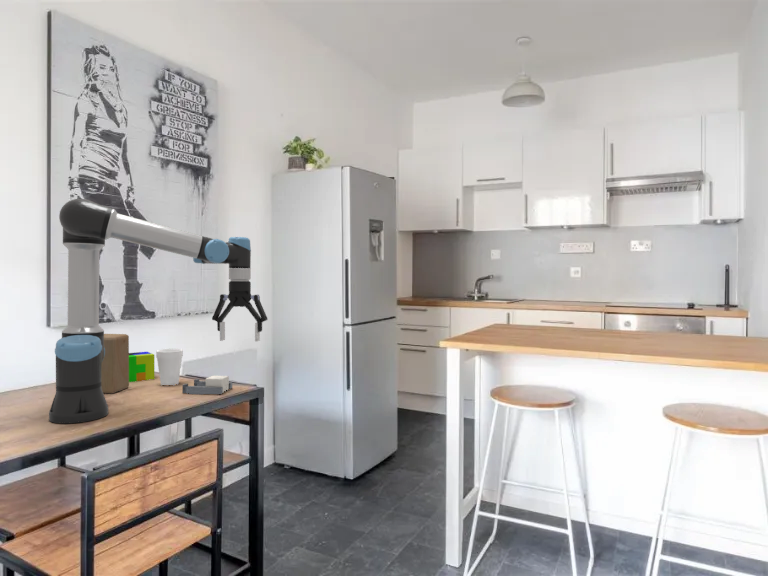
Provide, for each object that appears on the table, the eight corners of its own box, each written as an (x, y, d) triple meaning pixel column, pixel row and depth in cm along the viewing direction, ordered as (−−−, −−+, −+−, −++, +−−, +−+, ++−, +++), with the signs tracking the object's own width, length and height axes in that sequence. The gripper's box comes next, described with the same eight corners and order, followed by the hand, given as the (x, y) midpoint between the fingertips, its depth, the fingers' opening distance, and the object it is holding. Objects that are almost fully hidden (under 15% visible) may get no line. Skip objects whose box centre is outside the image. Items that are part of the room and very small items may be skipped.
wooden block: (130, 387, 192) (129, 333, 191) (113, 394, 182) (113, 337, 181) (104, 387, 193) (104, 333, 192) (86, 393, 183) (86, 336, 182)
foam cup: (159, 387, 192) (159, 352, 192) (153, 383, 200) (153, 349, 199) (185, 384, 198) (185, 350, 197) (179, 380, 205) (179, 347, 205)
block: (221, 393, 184) (221, 379, 184) (205, 392, 185) (205, 378, 184) (228, 389, 190) (228, 376, 190) (212, 389, 191) (212, 375, 190)
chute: (220, 395, 182) (220, 386, 182) (182, 393, 183) (182, 384, 183) (232, 388, 192) (232, 380, 192) (196, 387, 194) (196, 378, 193)
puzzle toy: (147, 375, 215) (147, 351, 215) (154, 379, 208) (154, 354, 207) (120, 378, 209) (120, 353, 209) (127, 382, 201) (127, 357, 201)
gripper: (276, 280, 188) (276, 339, 188) (211, 280, 190) (211, 338, 191) (269, 281, 180) (269, 342, 181) (202, 280, 183) (202, 341, 183)
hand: (239, 340), depth 186 cm, fingers open, 12 cm apart
